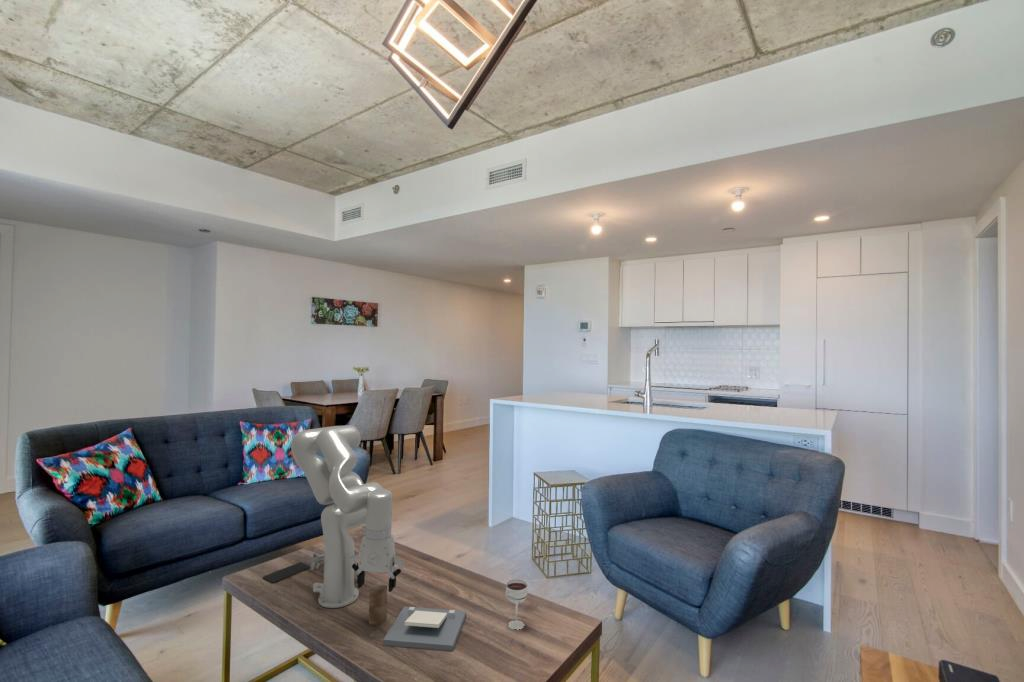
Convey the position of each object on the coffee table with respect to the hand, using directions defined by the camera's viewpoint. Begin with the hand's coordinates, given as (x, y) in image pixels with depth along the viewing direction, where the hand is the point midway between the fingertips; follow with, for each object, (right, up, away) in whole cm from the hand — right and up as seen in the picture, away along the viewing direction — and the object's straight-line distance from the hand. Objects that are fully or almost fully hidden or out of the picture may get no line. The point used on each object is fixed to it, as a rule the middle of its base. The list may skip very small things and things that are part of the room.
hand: (376, 587), depth 143 cm
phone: (-41, -11, +31) cm, 53 cm away
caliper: (-28, -11, +40) cm, 50 cm away
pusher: (0, -11, +1) cm, 11 cm away
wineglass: (+42, -11, -1) cm, 44 cm away
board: (+16, -11, -4) cm, 20 cm away
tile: (+16, -7, -4) cm, 18 cm away
